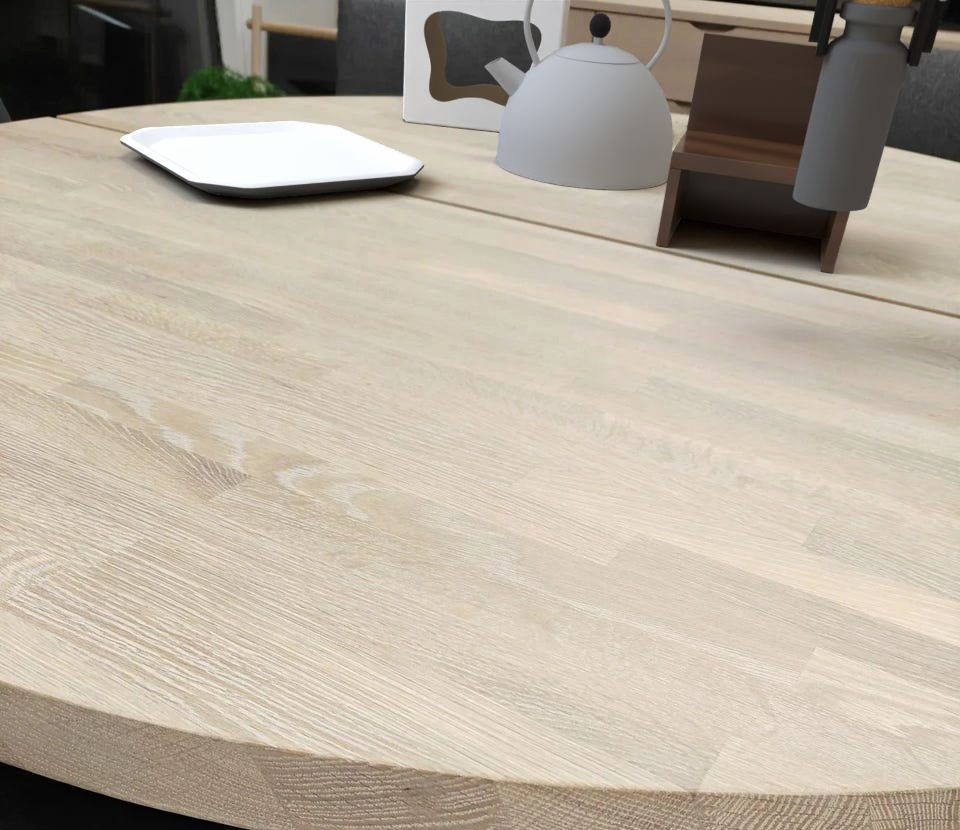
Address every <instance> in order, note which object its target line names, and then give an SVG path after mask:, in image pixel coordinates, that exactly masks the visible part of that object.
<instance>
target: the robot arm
mask: <svg viewBox="0 0 960 830" xmlns="http://www.w3.org/2000/svg"><path fill="white" fill-rule="evenodd" d="M946 2H947V0H921V1H920V4H919V8H918V12H917V15H916V19H915V23H914V27H913V29H912V34H911V38H910V41H909V45H908V47H907V49H908V50H909V57H908V61H907V65H909V67H914V68H918V67H919V64H920V61H921V59H922V58H921V57H922V54H923V53H924V54H931V53H932V51H933V49H934V45H935V42H936V38H937V34H938V31H939V27H940V25H941V20H942V16H943V13H944V10H945V7H946ZM838 3H839V0H816V3H815V9H814V13H813V18H812V22H811V26H810V31H809V36H808V39H807V43H815V44H816V45H817V47H816V52H815V57H820V58H822V56H825V55H826V51H827V47H828V44H829V43H830V38H831V33H832V29H833V24H834V21H835V17H836V12H837V8H838Z"/></svg>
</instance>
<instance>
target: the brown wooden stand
mask: <svg viewBox="0 0 960 830" xmlns="http://www.w3.org/2000/svg"><path fill="white" fill-rule="evenodd" d="M702 37H703V38H702V43H701V49H700V54H699V60H698V65H697V70H696V75H695V81H694V86H693V92H692V98H691V104H690V109H689V116H688V120H687V125H686V130H685V131H684V133H683V135H682V136H681V138H680V139H679V141H678V142H677V144H676V145H675V147H674V148H673V149H672V157H671V162H670V168H669V174H668V179H667V182H666V186H665V191H664V197H663V202H662V203H663V204H662V209H661V214H660V220H659V226H658V231H657V236H656V241H655V245H656V246H657V247H663V248H668V246H669V244H670V242H671V240H672V238H673V237H674V234H675V232H676V230H677V227H678V226H679V223H680V222H681V219H682V220H689V221H697V222H703V223H709V224H717V225H722V226H731V227H737V228H744V229H750V230H756V231H762V232H769V233H770V232H771V233H776V234H783V235H790V236H796V237H802V238H803V237H804V238H809V239H817V240H820V272H823V273H829V274H833V273H834V271H835V270H834V269H835V266H836V263H837V260H838V255H839V253H840V249H841V245H842V242H843V238H844V235H845V232H846V229H847V225H848V220H849V217H850V213H851V211H832V210H824V209H819V208H814V207H810V206H806V205H804V204H801V203H799V202H797V201H795V200H794V199H793V191H794V187H795V182H796V177H797V173H798V168H799V164H800V159H801V155H802V151H803V146H804V142H805V138H806V133H807V129H808V125H809V120H810V116H811V112H812V107H813V103H814V99H815V94H816V90H817V85H818V81H819V77H820V73H821V69H822V65H823V60H824V56H822V58H820V57H815V52H816V47H817V44H813V43H803V42H802V43H801V42H794V41H786V40H785V41H784V40H777V39H768V38H759V37H750V36H743V35H735V34H734V35H733V34H726V33H719V32H717V33H716V32H709V31H705V32H704V33H703V36H702Z"/></svg>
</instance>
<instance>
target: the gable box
mask: <svg viewBox="0 0 960 830" xmlns="http://www.w3.org/2000/svg"><path fill="white" fill-rule="evenodd" d="M526 3H527V0H405V19H404V20H405V21H404V22H405V24H404V53H403V55H404V57H403V63H404V64H403V91H402V93H403V96H402V97H403V98H402V99H403V100H402V121H403V122H404V123H411V124H420V125H429V126H437V127H447V128H457V129H465V130H475V131H484V132H493V133H499V132H500V126H501V121H502V117H503V114H504V110H505V107H506V105H507V102H508V99H509V97H510V96H509V94H508V93H507V92H506V91H505V90H504V89H503V87H502V86H501V85H497V84H492V83H491V84H490V83H481V84H480V83H479V84H473V85H466V86H455V85H452V84H450V83H449V82H448V81H447V79H446V68H447V63H448V47H447V43H446V40H445V36H444V33H443V29H442V24H441V14H442V12H457V13H462V14H465V15H469V16H473V17H476V18H479V19H483V20H487V21H491V22H507V21H509V22H511V21H521V22H524V12H525V7H526ZM570 8H571V0H534V2H533V5H532V10H531V16H530V24H532V25H534V26H535V27H537V28H538V30H539V32H540V34H541V40H540V44H539V47H538V49H537V51H536V52H537V54H538V57H539V60H540V61H541V60H542V59H543V58H545V57H547V56H548V55H550V54H552V53H554V51H556V50H558V49H560V48H562V47H565V46H566V43H567V34H568V25H569V17H570V16H569V15H570ZM533 66H534V63H533V62H532V63H531V65H530V68H529V70H530V69H531V68H532V67H533Z"/></svg>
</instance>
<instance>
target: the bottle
mask: <svg viewBox="0 0 960 830" xmlns="http://www.w3.org/2000/svg"><path fill="white" fill-rule="evenodd" d="M912 2H913V0H846V1H843V2H842V3H841V6H840V8H839V9H840V10H839V15H838V16H839V18H840V19H842V20H844V22H845V23H844V28H843V32H842V34H841V35H840V36H837V37H835V38H834V39H832V40H831V41H829V43H828V47H827V51H826V55H825V56H824V60H823V65H822V69H821V73H820V77H819V81H818V85H817V90H816V94H815V99H814V103H813V107H812V112H811V116H810V120H809V125H808V129H807V133H806V138H805V142H804V146H803V151H802V155H801V159H800V164H799V168H798V173H797V177H796V182H795V187H794V191H793V199H794V200H795V201H797V202H799V203H801V204H804V205H806V206H810V207H814V208H819V209H824V210H832V211H850V212H858V211H864V210H865V209H867V208H868V206H869V203H870V199H871V197H872V192H873V189H874V185H875V182H876V178H877V174H878V172H879V167H880V164H881V160H882V157H883V154H884V150H885V146H886V143H887V139H888V136H889V131H890V128H891V125H892V120H893V117H894V113H895V110H896V107H897V102H898V98H899V96H900V92H901V87H902V83H903V81H904V76H905V74H906V69H907V65H908V64H907V61H908V57H909V50H908V47H907V45H906V44H904V43H903V42H902V41H901V38H902V33H903V29H904V27H905V26H910V25H912V24H913V23H914V20H915V16H916V12H917V8H916V7H915V6H912Z"/></svg>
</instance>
